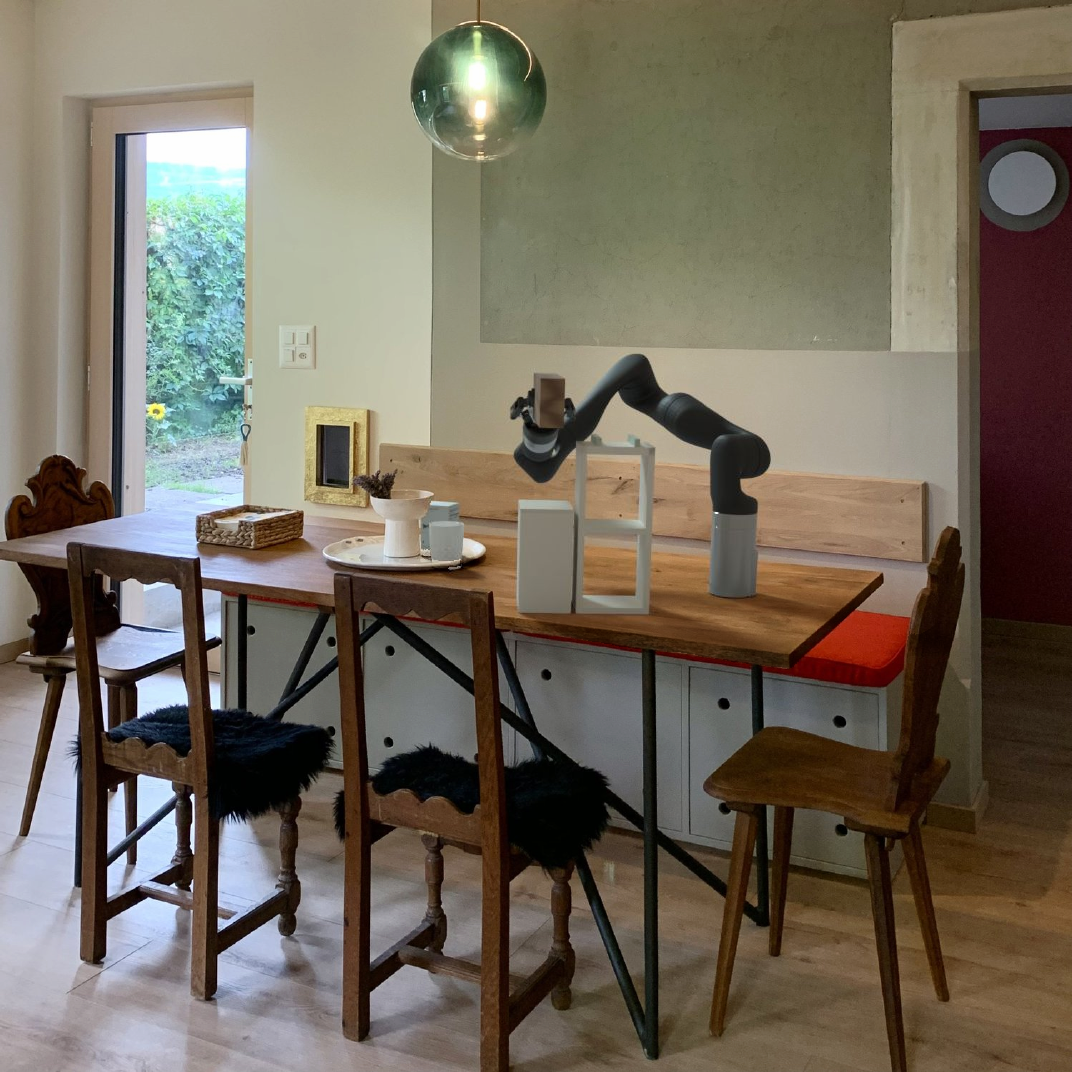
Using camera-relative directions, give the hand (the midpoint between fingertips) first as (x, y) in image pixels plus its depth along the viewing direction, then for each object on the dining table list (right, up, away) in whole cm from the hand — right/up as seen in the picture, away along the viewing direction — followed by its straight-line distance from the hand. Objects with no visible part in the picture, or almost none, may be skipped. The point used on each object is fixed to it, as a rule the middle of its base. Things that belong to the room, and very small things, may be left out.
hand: (546, 392), depth 236 cm
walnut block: (0, -6, -5) cm, 8 cm away
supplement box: (-25, -33, +50) cm, 65 cm away
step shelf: (+7, -42, -1) cm, 43 cm away
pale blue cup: (-22, -36, +35) cm, 55 cm away
